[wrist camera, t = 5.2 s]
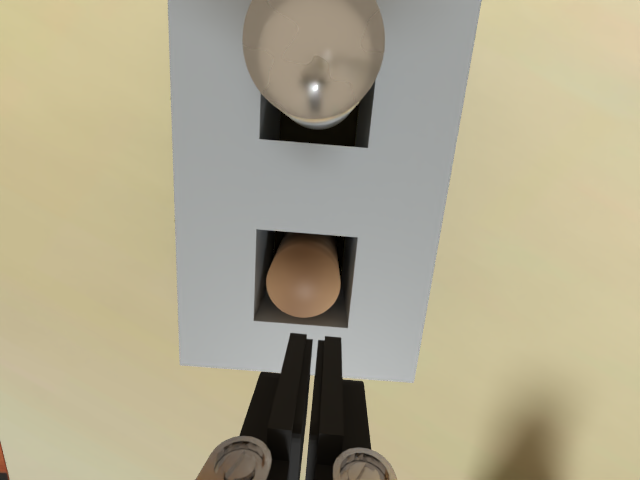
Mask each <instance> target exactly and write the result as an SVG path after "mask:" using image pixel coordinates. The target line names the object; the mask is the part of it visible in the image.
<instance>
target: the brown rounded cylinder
mask: <svg viewBox="0 0 640 480" xmlns="http://www.w3.org/2000/svg"><path fill="white" fill-rule="evenodd" d="M340 285H341V282H340V273H339V265H338V256H337V248H336V239H335V236H334V235H322V234H309V233H297V232H285V234H284V236H283V239H282V241H281V243H280V246H279V248H278V250H277V252H276V255H275V257H274V259H273V261H272V264H271V266H270V268H269V271H268V274H267V279H266V286H267V291H268V294H269V297H270V299H271V300H272V302H273V303H274V304H275V305H276V306H277V307H278V308H279V309H280V310H281V311H283V312H285V313H286V314H289V315H291V316H295V317H300V318H307V317H313V316H317V315H320V314H322V313H324V312H325V311H327V310H328V309H329V308H330V307H331V306H332V305H333V304H334V302H335V301H336V299H337V297H338V295H339V292H340Z"/></svg>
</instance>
